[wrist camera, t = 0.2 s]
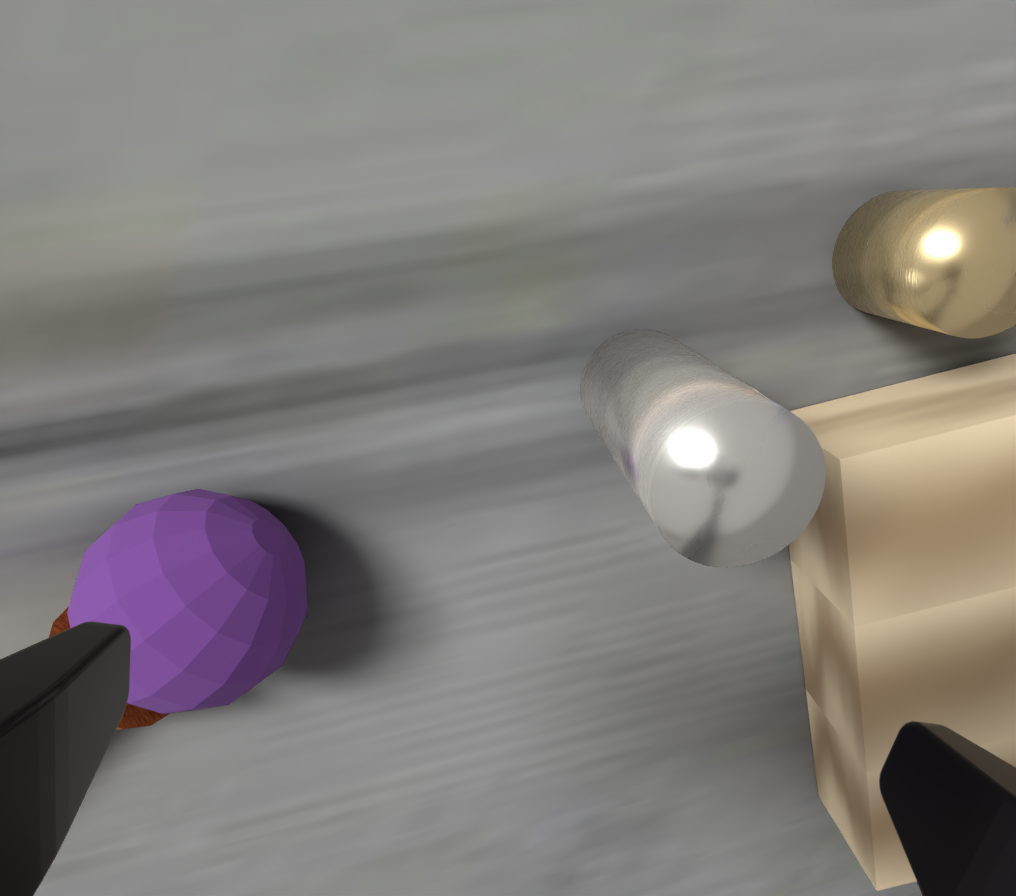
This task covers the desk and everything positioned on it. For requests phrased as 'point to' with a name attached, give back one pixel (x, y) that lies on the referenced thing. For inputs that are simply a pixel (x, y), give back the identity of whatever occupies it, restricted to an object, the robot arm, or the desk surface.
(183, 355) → the desk surface
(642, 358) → the long pin
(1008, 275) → the gold rounded piece
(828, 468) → the bore block
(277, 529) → the purple maraca
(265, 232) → the desk surface
